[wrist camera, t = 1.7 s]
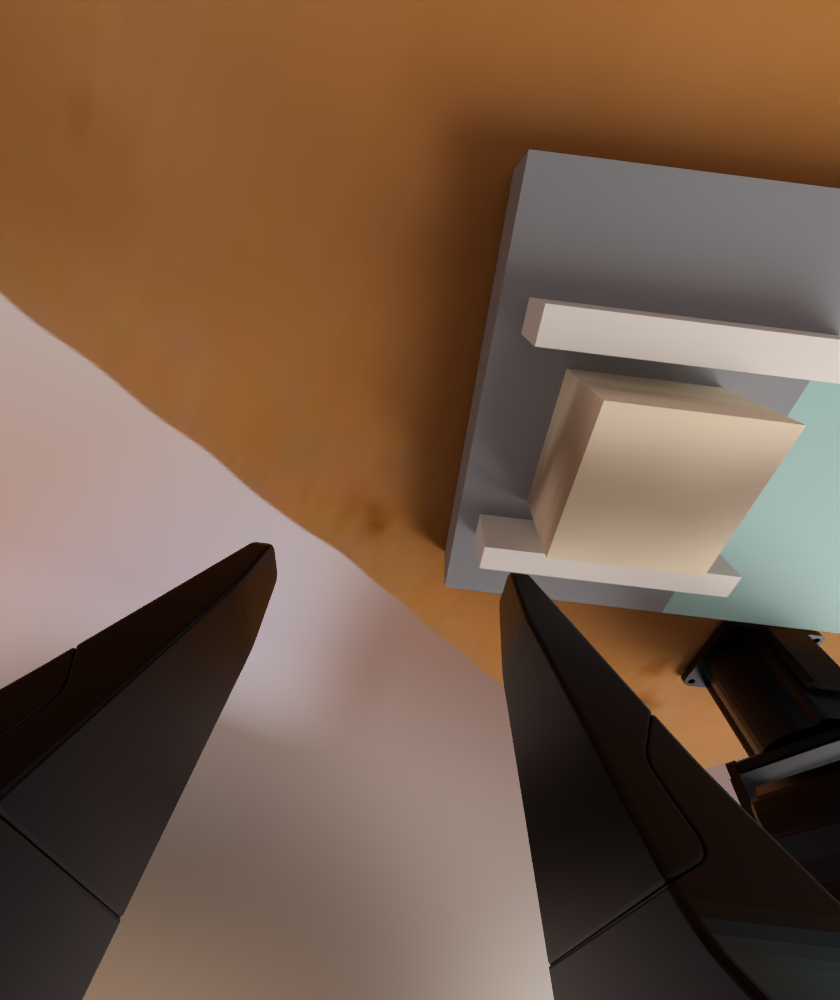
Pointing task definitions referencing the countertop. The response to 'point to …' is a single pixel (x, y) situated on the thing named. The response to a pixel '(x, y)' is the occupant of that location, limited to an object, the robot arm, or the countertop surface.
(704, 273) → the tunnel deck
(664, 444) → the beech block
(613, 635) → the countertop surface
